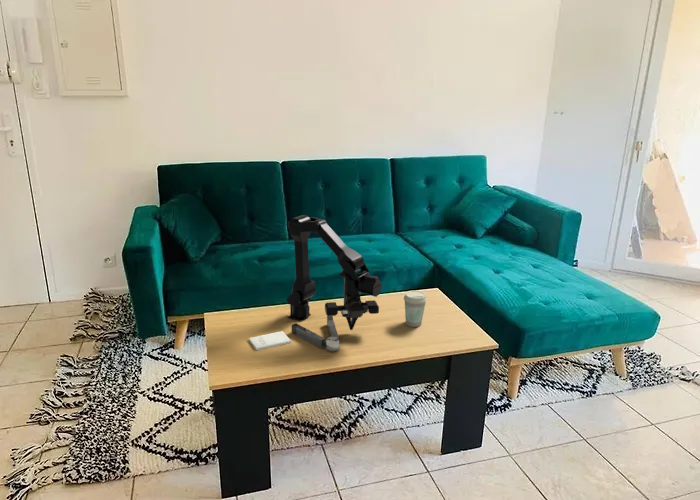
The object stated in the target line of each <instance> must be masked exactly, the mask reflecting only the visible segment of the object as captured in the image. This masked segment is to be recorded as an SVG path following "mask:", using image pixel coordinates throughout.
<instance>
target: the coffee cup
mask: <svg viewBox="0 0 700 500" xmlns="http://www.w3.org/2000/svg"><path fill="white" fill-rule="evenodd" d="M403 301H404V311H405V315H404V316H405V317H404V318H405V324H406V326H408V327H411V328H418V327H420V326H421V325H422V323H423V322H422V321H423V318H424V313H425V312H424V311H425V307H426V302H427V301H428V299H427V296H426V294H425V292H423V291H420V290H409V291H406V293H405V294H404V297H403Z"/></svg>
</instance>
